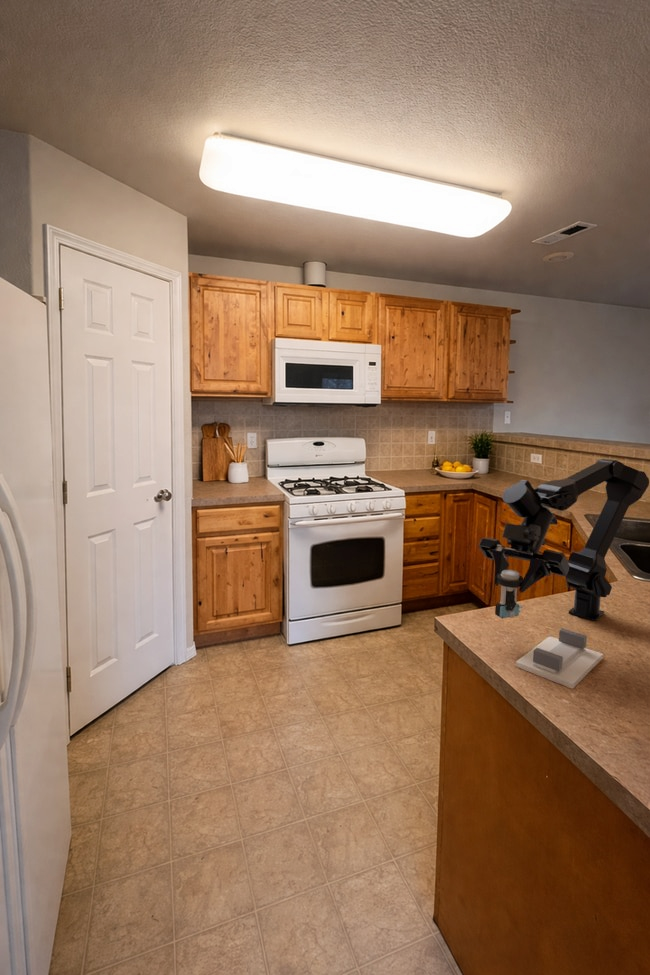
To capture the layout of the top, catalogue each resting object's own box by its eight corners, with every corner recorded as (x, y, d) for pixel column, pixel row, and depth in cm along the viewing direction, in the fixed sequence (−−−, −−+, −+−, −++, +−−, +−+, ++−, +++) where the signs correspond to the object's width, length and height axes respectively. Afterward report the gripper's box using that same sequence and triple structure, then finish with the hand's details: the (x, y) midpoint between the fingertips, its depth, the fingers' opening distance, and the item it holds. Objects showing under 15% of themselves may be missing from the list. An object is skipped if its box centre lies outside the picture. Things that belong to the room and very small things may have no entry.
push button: (514, 608, 109) (517, 566, 107) (530, 618, 104) (534, 574, 102) (489, 612, 107) (492, 569, 105) (505, 622, 102) (508, 578, 100)
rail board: (549, 640, 108) (550, 622, 107) (602, 658, 100) (604, 639, 99) (515, 666, 97) (516, 646, 97) (572, 688, 89) (574, 667, 89)
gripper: (483, 503, 111) (456, 559, 106) (567, 515, 98) (540, 580, 92) (499, 530, 118) (474, 584, 112) (579, 544, 104) (555, 607, 99)
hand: (507, 588), depth 104 cm, fingers closed on push button, 5 cm apart
